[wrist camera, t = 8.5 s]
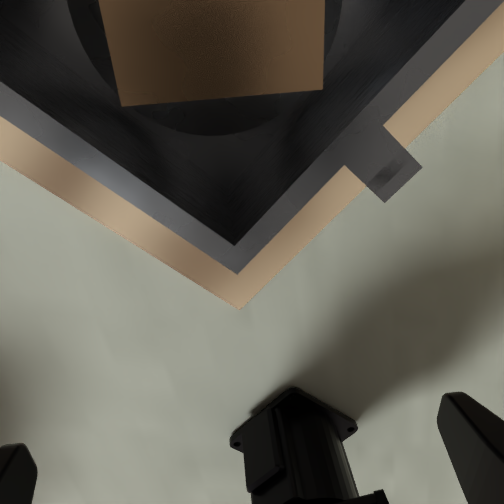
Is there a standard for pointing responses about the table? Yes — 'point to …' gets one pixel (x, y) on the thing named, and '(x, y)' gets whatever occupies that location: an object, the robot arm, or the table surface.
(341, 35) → the shallow square tray
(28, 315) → the table surface
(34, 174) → the tan square board
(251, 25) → the plunger
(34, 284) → the table surface
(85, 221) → the table surface
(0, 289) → the table surface
